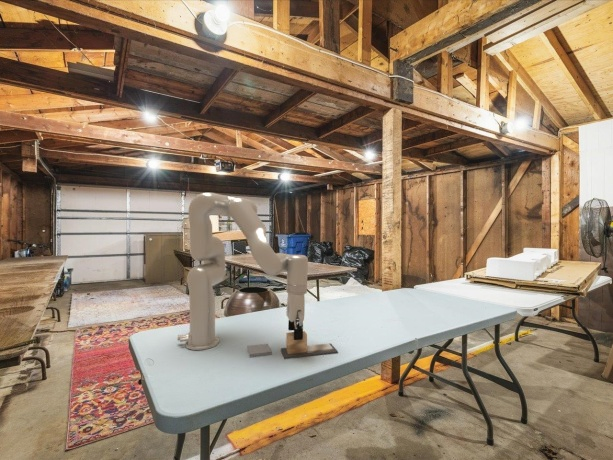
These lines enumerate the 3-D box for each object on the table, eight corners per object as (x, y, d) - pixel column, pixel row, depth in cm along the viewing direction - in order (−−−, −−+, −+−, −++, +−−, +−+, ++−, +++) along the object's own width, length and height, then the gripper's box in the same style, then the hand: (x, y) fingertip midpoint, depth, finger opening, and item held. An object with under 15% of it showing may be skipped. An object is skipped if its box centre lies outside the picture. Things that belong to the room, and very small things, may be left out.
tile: (247, 350, 115) (249, 358, 107) (247, 346, 115) (249, 354, 107) (267, 347, 117) (271, 355, 110) (267, 343, 117) (271, 351, 110)
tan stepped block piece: (288, 354, 108) (288, 336, 108) (285, 349, 113) (286, 332, 113) (333, 350, 112) (333, 332, 112) (329, 345, 117) (329, 328, 117)
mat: (284, 358, 106) (284, 357, 106) (280, 349, 114) (280, 348, 114) (337, 353, 111) (337, 351, 111) (330, 344, 119) (330, 343, 119)
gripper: (282, 284, 119) (281, 327, 119) (291, 294, 102) (289, 344, 102) (301, 283, 121) (299, 326, 121) (312, 293, 104) (311, 343, 104)
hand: (295, 334), depth 112 cm, fingers open, 9 cm apart
